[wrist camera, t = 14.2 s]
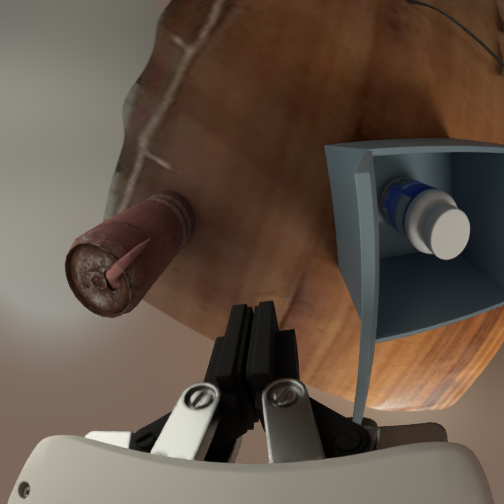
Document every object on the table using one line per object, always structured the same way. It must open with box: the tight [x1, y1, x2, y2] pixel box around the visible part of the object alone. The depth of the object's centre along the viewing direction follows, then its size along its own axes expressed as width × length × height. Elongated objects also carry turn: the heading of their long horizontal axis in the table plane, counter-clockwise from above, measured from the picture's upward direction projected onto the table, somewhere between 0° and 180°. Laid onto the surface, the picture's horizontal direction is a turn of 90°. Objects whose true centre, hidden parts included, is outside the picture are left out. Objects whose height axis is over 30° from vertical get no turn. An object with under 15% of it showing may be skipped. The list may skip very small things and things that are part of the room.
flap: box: [352, 151, 379, 425], centre depth 11 cm, size 7×13×1 cm
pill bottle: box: [380, 177, 470, 260], centre depth 20 cm, size 5×5×10 cm
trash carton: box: [324, 138, 504, 343], centre depth 19 cm, size 15×13×12 cm
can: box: [65, 192, 195, 318], centre depth 21 cm, size 6×6×14 cm
